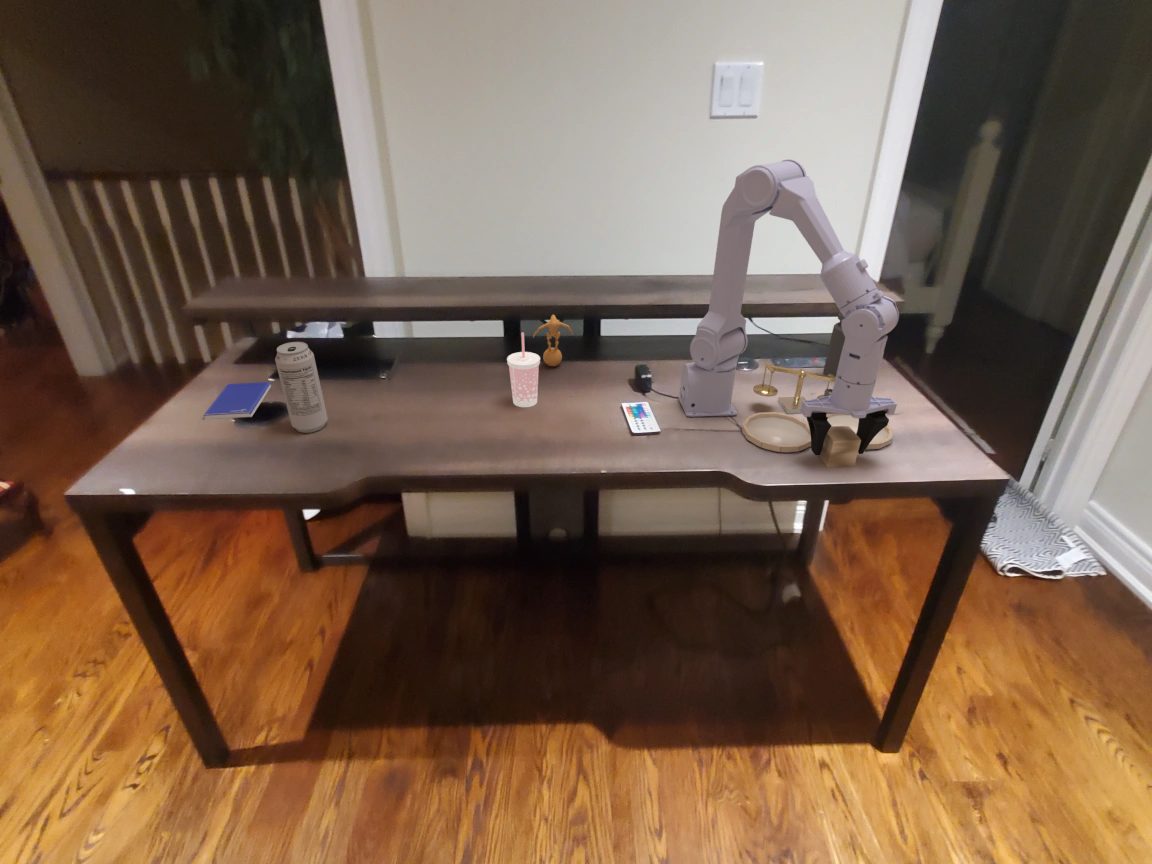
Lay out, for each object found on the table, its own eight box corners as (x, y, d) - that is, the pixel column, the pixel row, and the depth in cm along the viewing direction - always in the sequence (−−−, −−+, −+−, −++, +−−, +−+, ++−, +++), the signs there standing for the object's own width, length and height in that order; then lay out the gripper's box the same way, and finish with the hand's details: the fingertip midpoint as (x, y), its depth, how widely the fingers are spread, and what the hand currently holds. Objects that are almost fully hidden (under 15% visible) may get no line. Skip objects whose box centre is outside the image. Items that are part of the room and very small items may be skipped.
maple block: (827, 467, 103) (833, 440, 101) (816, 452, 107) (822, 426, 105) (854, 466, 104) (861, 440, 101) (842, 451, 108) (848, 425, 105)
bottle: (854, 382, 130) (872, 312, 122) (824, 380, 131) (840, 310, 123) (850, 370, 135) (867, 302, 127) (821, 368, 136) (836, 300, 128)
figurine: (570, 360, 138) (570, 307, 132) (574, 372, 133) (575, 317, 127) (532, 362, 137) (530, 309, 131) (535, 374, 132) (533, 319, 126)
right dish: (836, 451, 107) (837, 445, 107) (809, 417, 117) (810, 411, 117) (903, 449, 108) (905, 442, 107) (871, 415, 118) (872, 409, 117)
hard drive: (250, 411, 115) (269, 381, 126) (202, 414, 114) (226, 383, 125) (252, 419, 116) (271, 388, 127) (205, 422, 115) (228, 390, 126)
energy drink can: (331, 416, 116) (314, 339, 109) (325, 432, 111) (308, 353, 103) (296, 418, 115) (277, 341, 108) (289, 435, 110) (268, 355, 103)
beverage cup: (547, 401, 122) (546, 332, 115) (524, 412, 118) (521, 342, 111) (525, 391, 125) (523, 323, 118) (502, 401, 122) (498, 332, 114)
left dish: (754, 454, 106) (755, 447, 106) (734, 419, 116) (735, 413, 116) (823, 452, 107) (824, 445, 106) (797, 417, 117) (798, 411, 117)
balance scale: (755, 414, 118) (762, 372, 114) (746, 401, 122) (753, 360, 118) (844, 411, 119) (855, 369, 115) (833, 399, 123) (843, 358, 119)
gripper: (820, 389, 94) (802, 466, 101) (915, 387, 95) (891, 463, 102) (802, 369, 100) (787, 443, 107) (891, 367, 101) (870, 440, 108)
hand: (836, 451), depth 105 cm, fingers open, 7 cm apart
